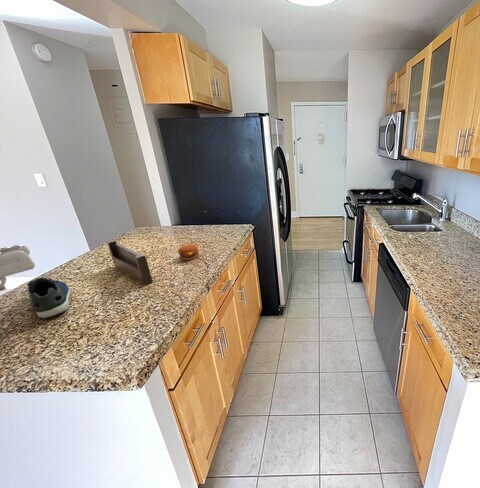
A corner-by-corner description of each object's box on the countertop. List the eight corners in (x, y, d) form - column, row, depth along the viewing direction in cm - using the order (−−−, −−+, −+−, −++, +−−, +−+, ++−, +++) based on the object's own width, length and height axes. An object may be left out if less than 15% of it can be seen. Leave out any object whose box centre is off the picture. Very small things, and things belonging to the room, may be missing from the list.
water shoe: (66, 283, 112) (55, 259, 108) (81, 309, 95) (69, 282, 91) (31, 294, 105) (18, 269, 101) (41, 324, 88) (25, 295, 83)
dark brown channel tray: (145, 285, 111) (136, 258, 106) (115, 266, 128) (106, 242, 123) (153, 282, 113) (145, 255, 108) (122, 264, 130) (114, 240, 125)
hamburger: (187, 252, 143) (185, 241, 140) (203, 254, 141) (201, 242, 139) (175, 260, 134) (172, 248, 132) (192, 261, 132) (189, 249, 130)
